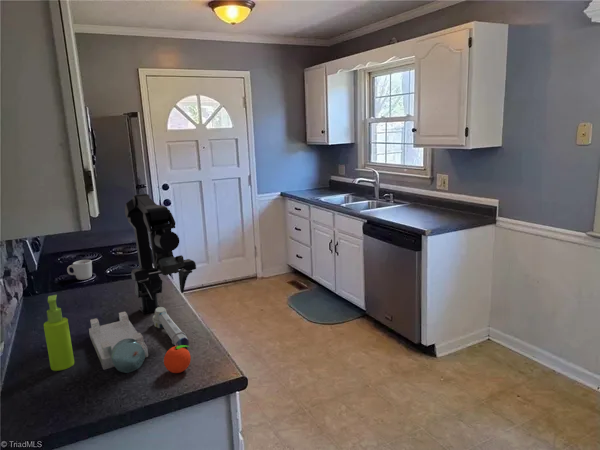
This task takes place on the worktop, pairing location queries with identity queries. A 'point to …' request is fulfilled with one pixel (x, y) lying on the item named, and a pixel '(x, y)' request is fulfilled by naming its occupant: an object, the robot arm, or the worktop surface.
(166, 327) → the electric toothbrush handle
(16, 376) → the worktop surface
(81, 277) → the cup
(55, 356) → the soap dispenser
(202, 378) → the worktop surface
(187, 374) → the worktop surface
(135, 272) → the robot arm
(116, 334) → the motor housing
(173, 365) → the clementine
